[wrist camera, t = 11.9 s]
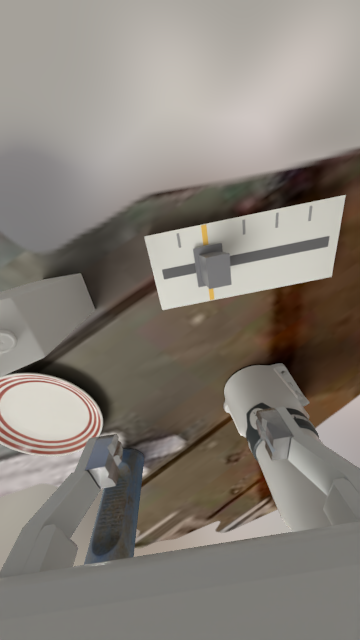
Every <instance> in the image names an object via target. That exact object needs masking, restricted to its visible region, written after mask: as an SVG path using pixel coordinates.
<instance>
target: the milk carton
mask: <svg viewBox="0 0 360 640" xmlns="http://www.w3.org/2000/svg"><path fill="white" fill-rule="evenodd" d="M94 311H95V308H94V305H93V303H92V300H91V298H90V295H89V292H88V290H87V287H86V285H85V282H84V279H83V277H82V275H81V273H78V274H72V275H66V276H60V277H55V278H49V279H43V280H39V281H36V282H32V283H29V284H26V285H22V286H19V287H16V288H12V289H9V290H6V291H2V292H0V377H2V376H4V375H6V374H9V373H11V372H13V371H15V370H18V369H20V368H22V367H24V366H27V365H29V364H31V363H33V362H35V361H38V360H40V359H42V358H44V357H45V356H46V355H48V354H49V353H50V352H51V351H52V350H53V349H54V348H55V347H56V346H57V345H58V344H60V343H61V342H62V341H63V340H64V339H65V338H66V337H67V336H68V335H69V334H70V333H71V332H72V331H73V330H75V329H76V328H77V327H78V326H79V325H80V324H81V323H82V322H83V321H84V320H85V319H86V318H87V317H88V316H90V315H91V314H92V313H93V312H94Z"/></svg>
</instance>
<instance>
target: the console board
mask: <svg viewBox="0 0 360 640" xmlns="http://www.w3.org/2000/svg"><path fill="white" fill-rule="evenodd" d="M345 197H346V195H342V196H337V197H333V198H328V199H323V200H318V201H313V202H308V203H304V204H299V205H294V206H289V207H284V208H279V209H275V210H270V211H265V212H260V213H255V214H250V215H246V216H241V217H236V218H231V219H226V220H222V221H217V222H212V223H207V224H202V225H197V226H193V227H188V228H183V229H178V230H173V231H168V232H164V233H159V234H154V235H149V236H144V238H145V242H146V246H147V250H148V254H149V258H150V262H151V266H152V270H153V274H154V278H155V282H156V287H157V291H158V295H159V299H160V303H161V307H162V310H165V309H170V308H175V307H180V306H186V305H191V304H196V303H201V302H206V301H211V300H216V299H221V298H226V297H231V296H237V295H242V294H247V293H252V292H257V291H262V290H267V289H272V288H277V287H282V286H287V285H293V284H298V283H303V282H308V281H313V280H318V279H323V278H328V277H332V272H333V266H334V260H335V254H336V249H337V243H338V237H339V231H340V225H341V220H342V214H343V208H344V202H345ZM218 243H222V250H223V252H226V253H230V269H231V284H232V285H228V286H223V287H218V288H212V289H209V288H208V287H207V286H203V287H198V281H197V274H196V268H195V261H194V254H193V249H194V248H199V247H204V246H208V245H213V244H218Z"/></svg>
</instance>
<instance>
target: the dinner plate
mask: <svg viewBox="0 0 360 640" xmlns="http://www.w3.org/2000/svg"><path fill="white" fill-rule="evenodd" d="M102 428H103V416H102V413H101V410H100V408H99V406H98V405H97V403H96V402H95V401H94V399H93V398H92V397H91V396H90V395H89V394H88V393H86V392H85V391H84V390H82V389H81V388H79V387H78V386H76V385H74V384H73V383H71V382H68V381H66V380H64V379H61V378H58V377H55V376H51V375H46V374H40V373H15V374H9V375H4V376H2V377H0V444H2V445H4V446H6V447H8V448H11V449H13V450H16V451H19V452H23V453H27V454H31V455H38V456H62V455H68V454H72V453H75V452H78V451H81V450H83V449H84V448H85V445H86V443H87V441H88V440H89V438H94V437H99V435H100V433H101V431H102Z"/></svg>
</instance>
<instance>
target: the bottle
mask: <svg viewBox="0 0 360 640" xmlns="http://www.w3.org/2000/svg"><path fill="white" fill-rule="evenodd" d="M143 466H144V456H143V454H142V453H141V452H139V451H137V450H134V449H123V456H122V461H121V463H120V464H119V465H118V469H119V475H118V479H117V484H116V486H113V487H108V488H104V490H103V494H102V498H101V502H100V506H99V510H98V513H97V517H96V521H95V525H94V528H93V532H92V536H91V540H90V544H89V548H88V552H87V555H86V559H85V563H84V565H86V564H93V563H99V562H105V561H112V560H118V559H124V558H131V557H133V556H134V546H135V538H136V528H137V519H138V510H139V501H140V491H141V482H142V473H143Z"/></svg>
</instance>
